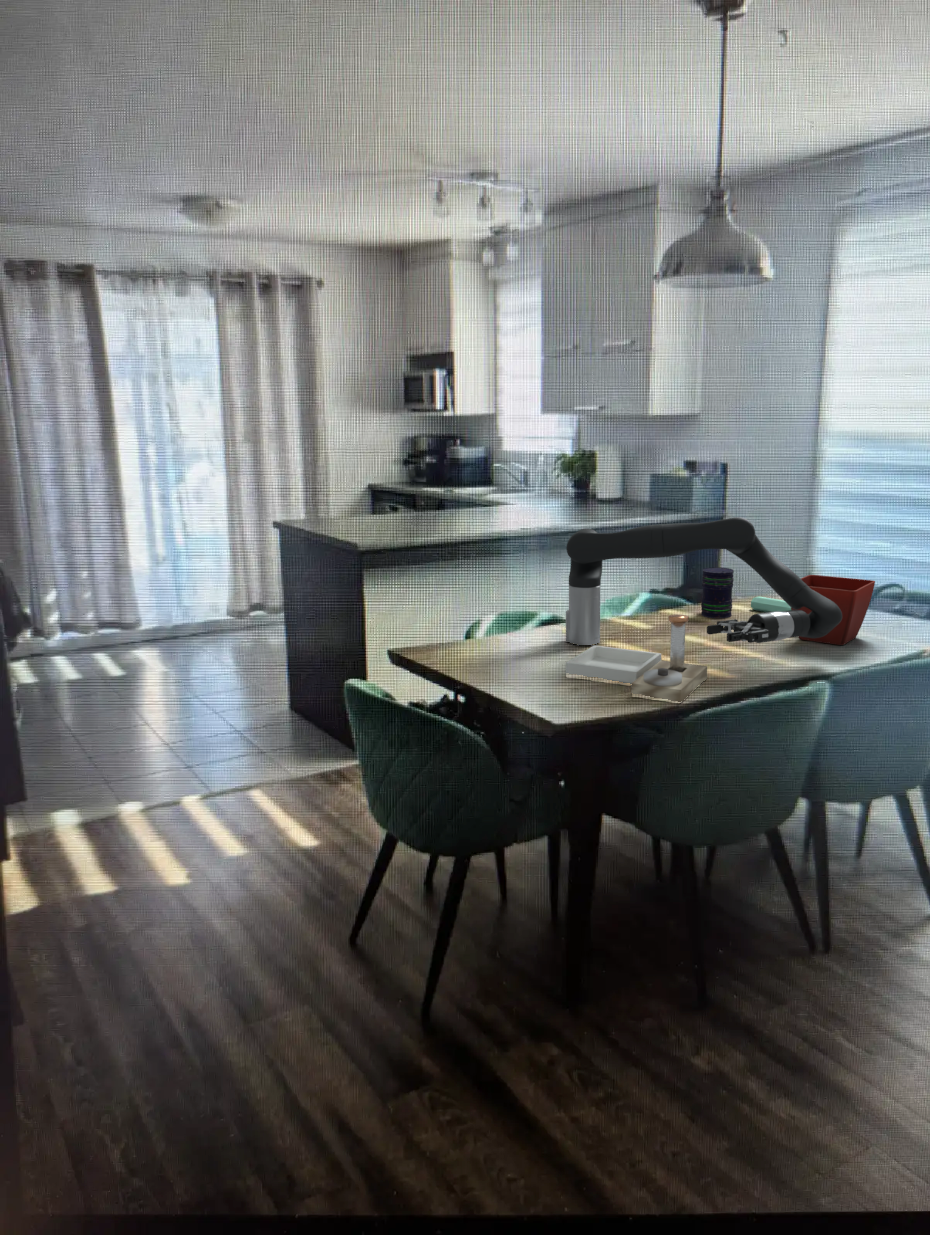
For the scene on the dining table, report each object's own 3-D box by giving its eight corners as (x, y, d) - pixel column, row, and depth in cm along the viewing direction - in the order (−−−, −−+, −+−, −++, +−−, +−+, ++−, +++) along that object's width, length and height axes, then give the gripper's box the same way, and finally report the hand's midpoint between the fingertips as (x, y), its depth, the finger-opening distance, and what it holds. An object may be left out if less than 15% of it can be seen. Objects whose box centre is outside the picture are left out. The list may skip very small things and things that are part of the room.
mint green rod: (750, 592, 305) (817, 602, 285) (760, 596, 308) (827, 607, 288) (745, 609, 305) (812, 621, 285) (755, 613, 308) (822, 625, 288)
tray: (565, 677, 235) (565, 662, 234) (593, 659, 251) (594, 645, 250) (636, 687, 226) (636, 672, 225) (660, 668, 242) (661, 653, 241)
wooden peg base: (631, 697, 219) (631, 671, 218) (660, 673, 237) (661, 649, 236) (680, 704, 213) (681, 678, 212) (706, 679, 231) (707, 655, 230)
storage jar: (694, 613, 303) (696, 568, 299) (720, 610, 305) (722, 566, 302) (711, 619, 293) (713, 573, 290) (738, 616, 296) (740, 571, 293)
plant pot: (806, 627, 281) (810, 573, 277) (871, 636, 269) (876, 580, 265) (783, 640, 266) (786, 583, 263) (851, 650, 255) (855, 591, 251)
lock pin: (664, 683, 229) (666, 617, 225) (670, 678, 233) (672, 613, 229) (682, 686, 226) (685, 619, 222) (688, 681, 230) (691, 615, 226)
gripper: (753, 607, 241) (701, 613, 236) (789, 618, 228) (735, 625, 223) (752, 634, 243) (700, 641, 238) (788, 647, 230) (734, 655, 225)
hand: (717, 633), depth 230 cm, fingers open, 8 cm apart
